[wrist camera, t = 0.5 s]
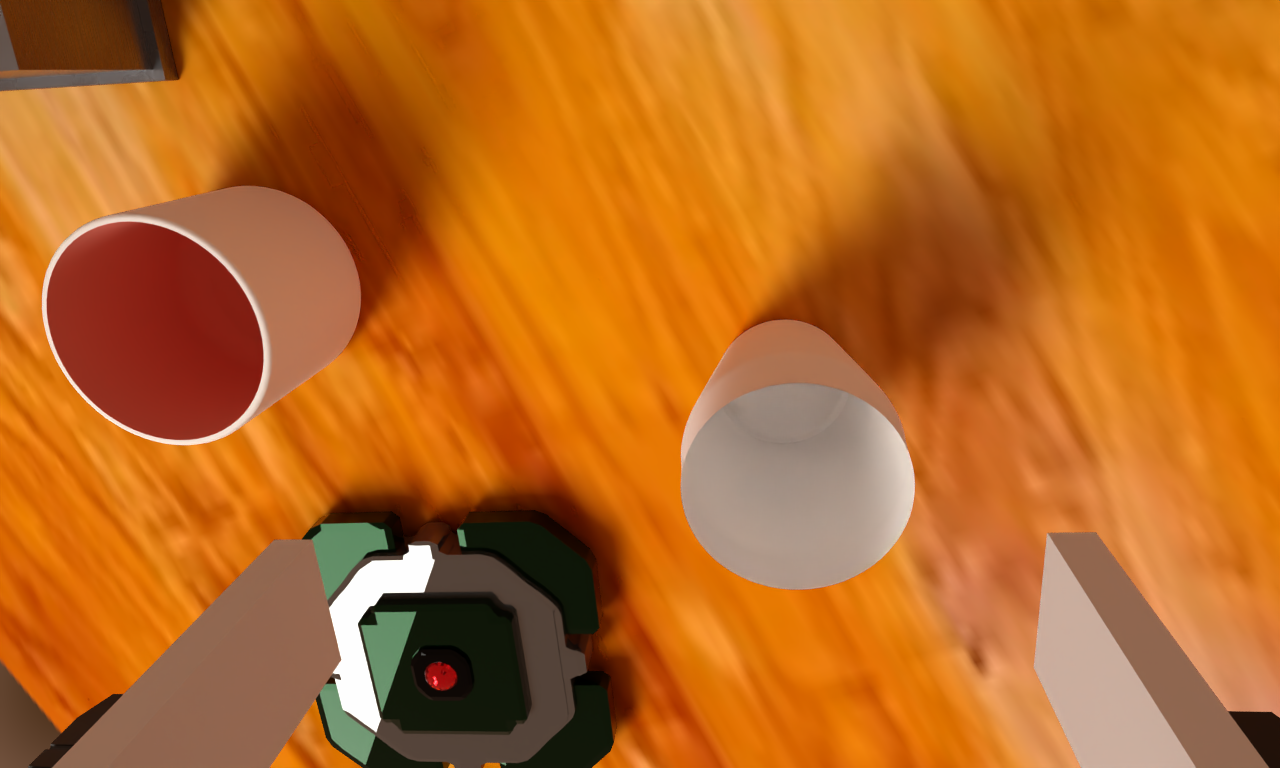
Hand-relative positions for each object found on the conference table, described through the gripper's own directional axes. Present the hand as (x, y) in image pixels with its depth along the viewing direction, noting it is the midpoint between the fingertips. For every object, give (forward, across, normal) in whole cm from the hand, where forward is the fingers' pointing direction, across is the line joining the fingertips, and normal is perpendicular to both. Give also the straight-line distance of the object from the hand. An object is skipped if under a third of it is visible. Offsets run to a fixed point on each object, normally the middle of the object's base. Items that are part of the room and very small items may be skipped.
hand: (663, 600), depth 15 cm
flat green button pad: (+28, -16, -22) cm, 39 cm away
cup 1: (+28, -23, 0) cm, 36 cm away
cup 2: (+28, +3, -6) cm, 29 cm away
